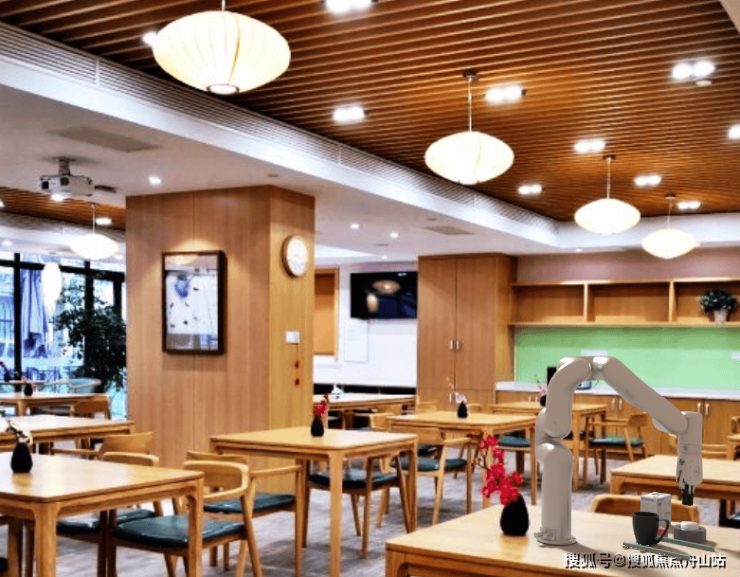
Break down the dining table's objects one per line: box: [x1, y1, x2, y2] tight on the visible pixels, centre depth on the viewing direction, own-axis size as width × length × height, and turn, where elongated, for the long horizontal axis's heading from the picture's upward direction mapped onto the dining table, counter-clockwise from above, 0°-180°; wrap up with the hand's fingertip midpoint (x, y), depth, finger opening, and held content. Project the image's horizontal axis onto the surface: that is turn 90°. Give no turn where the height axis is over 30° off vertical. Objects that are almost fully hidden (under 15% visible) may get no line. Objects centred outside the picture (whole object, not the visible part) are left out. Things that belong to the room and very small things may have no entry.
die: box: [657, 527, 669, 538], centre depth 297 cm, size 3×3×3 cm
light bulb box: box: [640, 491, 672, 528], centre depth 315 cm, size 11×7×11 cm, turn 136°
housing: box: [672, 523, 707, 545], centre depth 294 cm, size 10×10×4 cm
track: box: [622, 536, 715, 562], centre depth 282 cm, size 20×22×1 cm
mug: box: [631, 511, 671, 547], centre depth 287 cm, size 8×12×10 cm
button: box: [680, 520, 700, 530], centre depth 294 cm, size 6×6×5 cm
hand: (687, 505), depth 295 cm, fingers closed
